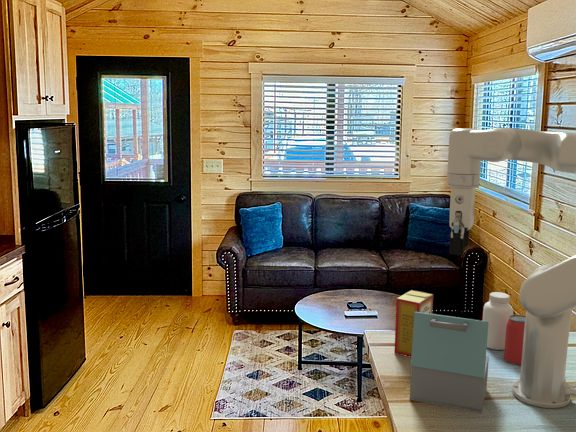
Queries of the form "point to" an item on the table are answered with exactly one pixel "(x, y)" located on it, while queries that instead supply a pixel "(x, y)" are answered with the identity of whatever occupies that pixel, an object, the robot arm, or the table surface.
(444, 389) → the carton
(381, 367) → the table surface
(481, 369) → the lid
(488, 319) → the pill bottle
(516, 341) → the beer can
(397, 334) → the baking soda box
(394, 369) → the table surface
